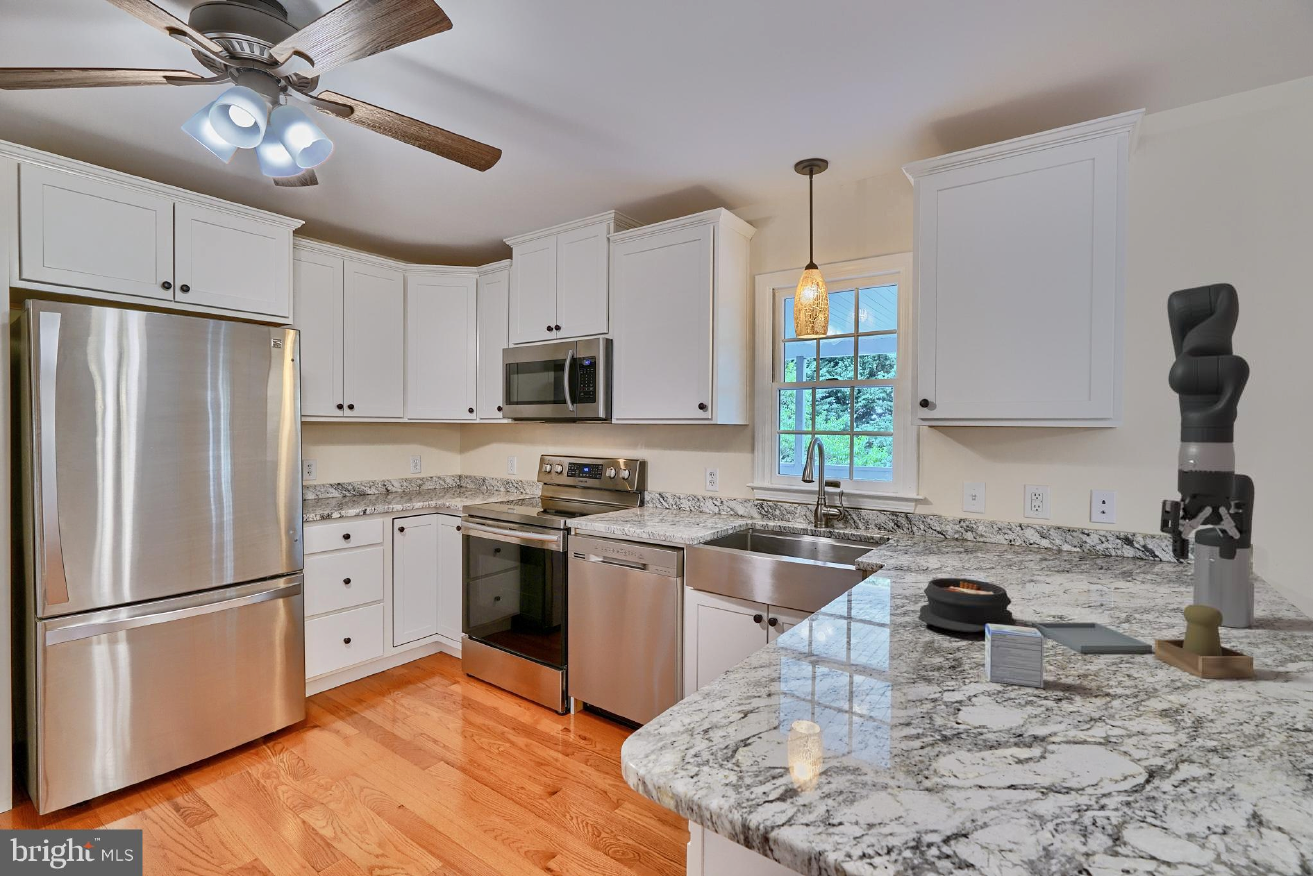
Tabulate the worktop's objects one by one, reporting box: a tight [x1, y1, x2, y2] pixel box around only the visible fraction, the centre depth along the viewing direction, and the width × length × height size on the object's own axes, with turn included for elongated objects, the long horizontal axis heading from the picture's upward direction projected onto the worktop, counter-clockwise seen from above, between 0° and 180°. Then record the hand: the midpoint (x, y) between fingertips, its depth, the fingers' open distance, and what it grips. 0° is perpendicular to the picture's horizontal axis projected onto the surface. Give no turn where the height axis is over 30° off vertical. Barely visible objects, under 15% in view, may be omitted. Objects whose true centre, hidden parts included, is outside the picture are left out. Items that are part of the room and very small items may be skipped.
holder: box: [1154, 638, 1254, 679], centre depth 108 cm, size 9×9×4 cm
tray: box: [1031, 621, 1153, 655], centre depth 122 cm, size 14×14×2 cm
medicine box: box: [984, 624, 1045, 688], centre depth 101 cm, size 8×4×9 cm, turn 71°
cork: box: [1183, 604, 1223, 656], centre depth 108 cm, size 6×6×11 cm
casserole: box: [918, 577, 1016, 633], centre depth 132 cm, size 25×19×8 cm
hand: (1203, 558), depth 108 cm, fingers open, 8 cm apart
